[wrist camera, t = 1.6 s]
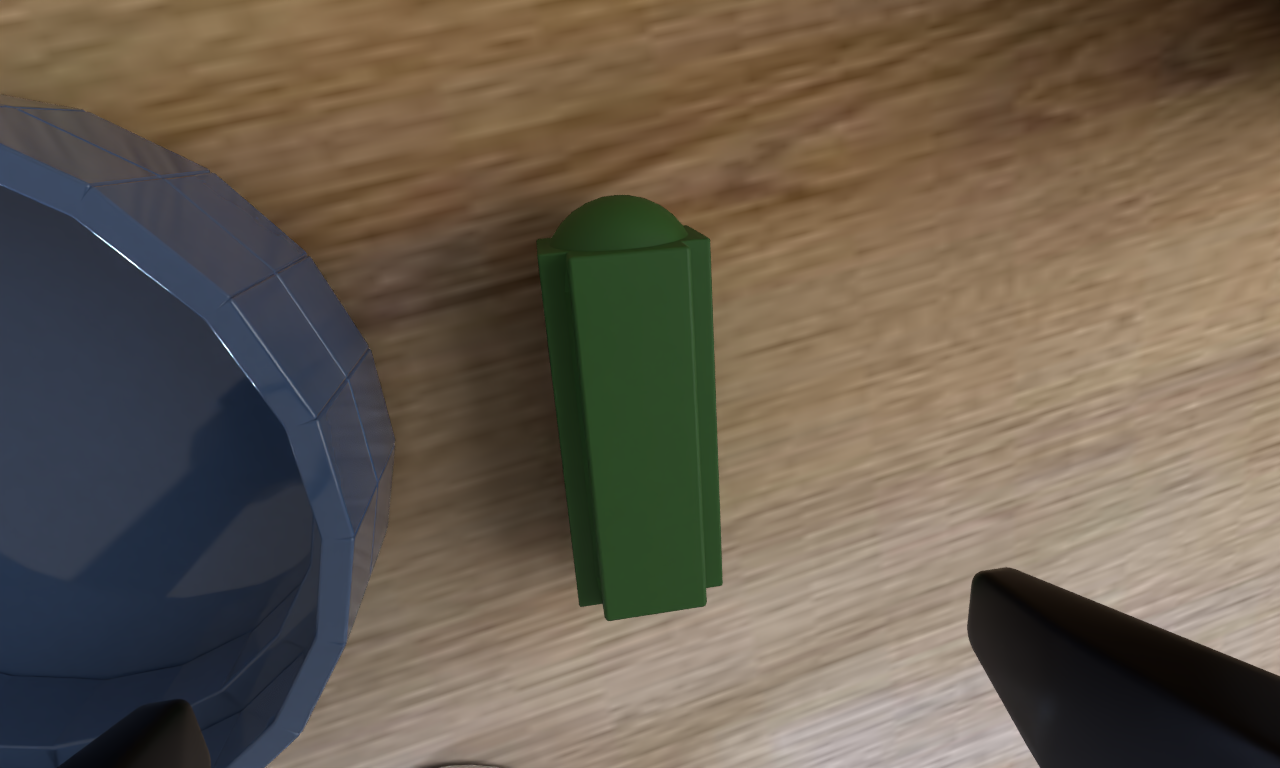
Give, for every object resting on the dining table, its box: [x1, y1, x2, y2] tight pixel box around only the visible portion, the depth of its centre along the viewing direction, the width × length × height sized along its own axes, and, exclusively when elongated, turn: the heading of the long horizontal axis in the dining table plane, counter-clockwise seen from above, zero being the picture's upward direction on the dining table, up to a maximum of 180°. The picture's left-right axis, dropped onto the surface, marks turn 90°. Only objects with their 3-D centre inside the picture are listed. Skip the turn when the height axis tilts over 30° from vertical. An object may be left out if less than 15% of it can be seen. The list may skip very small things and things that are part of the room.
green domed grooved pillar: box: [536, 195, 723, 621], centre depth 17 cm, size 10×4×4 cm, turn 4°
